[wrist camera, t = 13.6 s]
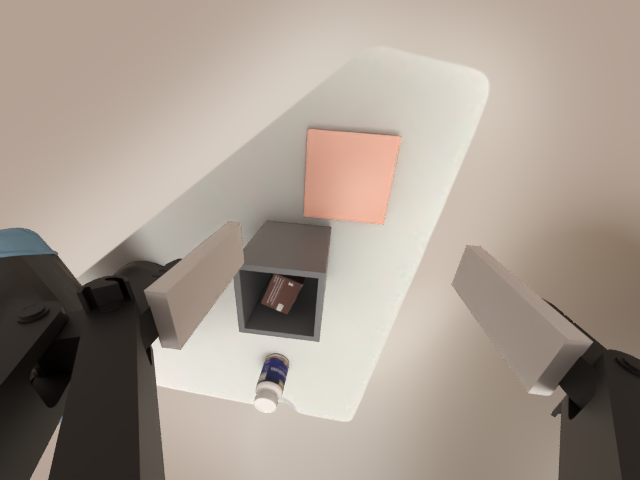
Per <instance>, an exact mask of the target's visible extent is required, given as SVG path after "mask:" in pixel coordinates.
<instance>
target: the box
mask: <svg viewBox="0 0 640 480" xmlns="http://www.w3.org/2000/svg"><path fill="white" fill-rule="evenodd" d="M304 280H305V277H302V276H293V275H284V274H275V273H274V275H273V277H272V279H271V280H270V283H269V285H268V288H267V290H266V292H265V294H264V297H263V299H262V302H261V303H262V304H264V305H266V306H269V307H271V308H273V309H276V310H278V311H280V312H282V313H285V314H288V312H289V310H290V308H291V306H292V305H293V303H294V302H295V300H296V298H297V295H298V293H299V291H300V290H301V288H302V286H303V283H304Z"/></svg>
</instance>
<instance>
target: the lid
mask: <svg viewBox="0 0 640 480" xmlns="http://www.w3.org/2000/svg"><path fill="white" fill-rule="evenodd" d="M401 138H402V137H401V136H390V135H378V134H366V133H354V132H341V131H329V130H317V129H308V131H307V153H306V176H305V198H304V217H313V218H323V219H333V220H343V221H353V222H363V223H373V224H383V225H384V220H385V215H386V211H387V206H388V201H389V196H390V191H391V186H392V181H393V176H394V172H395V167H396V162H397V157H398V152H399V147H400V142H401Z"/></svg>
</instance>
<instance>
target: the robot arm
mask: <svg viewBox="0 0 640 480" xmlns="http://www.w3.org/2000/svg"><path fill="white" fill-rule="evenodd" d="M243 264H244V253H243V240H242V228H241V223H238V222H227V223H226V224H225V225H224V226H223V227H221V228H220V229H219V230H218V231H216V232H215V233H214V234H213V235H211V236H210V237H209V238H208V239H207V240H205V241H204V242H203V243H202V244H200V245H199V246H198V247H197V248H196V249H194V250H193V251H192V252H191V253H189V254H188V255H187V256H186V257H185V258H183V259H177V260H174V261H172V262H170V263H168V264H166V265H165V266H164V267H162V266H160V265H157V264H154V263H151V262H144V261H138V262H132V263H130V264H127V265H126V266H124V267H123V268H121V269H119V270H118V271H117V272H116V273H114V275H112V276H105V277H102V278H98V279H95V280H93V281H91V282H89V283H86V284H85V285H83V286H82V285H81V284H80V283H79V282H78V280H77V279H76V278H75V277H74V275H73V274H72V273H71V272H70V271H69V269H68V268H67V267H66V265H65V264H64V263H63V262H62V260H61V259H60V258H59V257H58V253H57V252H56V251H53V250H52V249H51V248H50V247H49V246H48V245H47V244H46V243H45V241H43V239H42V238H41V237H40V236H39V235H38V234H37V233H35V232H34V231H31V230H29V229H24V228H9V229H3V230H0V480H30V478H31V476H32V474H33V472H34V470H35V468H36V466H37V464H38V462H39V460H40V458H41V457H42V454H43V453H44V451H45V449H46V447H47V445H48V443H49V441H50V439H51V437H52V435H53V433H54V431H55V429H56V427H57V425H58V424H59V423H61V426H60V430H59V434H58V439H57V443H56V448H55V452H54V457H53V461H52V466H51V470H50V474H49V479H48V480H165V474H164V463H163V452H162V441H161V431H160V420H159V409H158V399H157V388H156V377H155V367H154V356H153V349H152V346H151V344H152V343H153V342H154V341H155V340H156V339H157V337H159V340H160V343H161V346H162V347H164V348H172V349H180V350H181V348H182V347H183V346H184V344H185V343H186V342H187V340H188V339H189V338H190V336H191V335H192V333H193V332H194V331H195V329H196V328H197V327H198V325H199V324H200V322H201V321H202V320H203V318H204V317H205V316H206V314H207V313H208V312H209V310H210V309H211V307H212V306H213V305H214V303H215V302H216V301H217V299H218V298H219V296H220V295H221V294H222V292H223V291H224V290H225V288H226V287H227V286H228V284H229V283H230V281H231V280H232V279H233V277H234V276H235V275H236V273H237V272H238V270H239V269H240V268H241V266H242V265H243ZM452 286H453V287H454V289H455V290H456V292H457V293H458V294H459V296H460V297H461V299H462V300H463V301H464V303H465V304H466V306H467V307H468V309H469V310H470V311H471V313H472V314H473V316H474V317H475V318H476V320H477V321H478V323H479V324H480V326H481V327H482V328H483V330H484V331H485V333H486V334H487V336H488V337H489V338H490V340H491V341H492V343H493V344H494V346H495V347H496V348H497V350H498V351H499V353H500V354H501V356H502V357H503V358H504V360H505V361H506V363H507V364H508V365H509V367H510V368H511V370H512V371H513V372H514V374H515V375H516V377H517V378H518V380H519V381H520V382H521V384H522V385H523V387H524V388H525V389H526V391H527V392H528V393H531V394H540V395H548V396H550V395H551V394H552V393H553V391H554V390H555V389H556V388H557V386H558V385H560V386H561V388H562V389H563V390H564V391H565V392H566V394H567V395H566V396H565V397H564V399H563V400H562V401H561V402H560V403H559V405H558V406H557V407H556V408H555V409H554V410H553V412H552V414H551V415H552V416H554V417H556V415H557V414H561V431H560V457H559V479H558V480H640V360H639V359H637V358H635V357H633V356H631V355H629V354H626V353H623V352H620V351H616V350H611V349H610V350H607V349H606V348H604V347H603V346H602V345H601V344H600V343H598V342H597V341H596V340H595V339H593V338H592V337H591V336H590V335H589V334H588V333H586V332H585V331H584V330H583V329H582V328H580V327H579V326H578V325H577V324H576V323H573V321H572V320H571V319H569V318H568V317H567V316H566V315H564V314H563V313H562V312H561V311H560V310H559V309H557V308H556V307H555V306H554V305H553V304H551V303H549V302H548V301H546V300H544V299H543V298H541V297H540V296H538V295H537V294H536V293H535V292H534V291H532V290H531V289H530V288H529V287H528V286H527V285H525V284H524V283H523V282H522V281H521V280H520V279H518V278H517V277H516V276H515V275H513V274H512V273H511V272H510V271H509V270H508V269H507V268H505V267H504V266H503V265H502V264H501V263H499V262H498V261H497V260H496V259H495V258H494V257H492V256H491V255H490V254H489V253H488V252H487V251H485V250H484V249H483V248H482V247H481V246H471V245H467V246H466V248H465V251H464V254H463V256H462V259H461V261H460V264H459V267H458V269H457V272H456V274H455V277H454V280H453V283H452Z"/></svg>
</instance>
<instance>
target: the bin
mask: <svg viewBox="0 0 640 480" xmlns="http://www.w3.org/2000/svg"><path fill="white" fill-rule="evenodd" d="M330 235H331V227H323V226H313V225H302V224H292V223H282V222H272V221H266V222H265V224H264V225H263V226H262V227H261V228H260V230H259V231H258V232H257V233H256V234H255V236H254V237H253V238H252V239H251V241H250V242H249V243H248V244H247V245H246V247H245V248H244V249H243V253H244V264H243V265H242V266H241V268H240V269H239V270H238V272H237V273H236V275H235V276H234V277H233V278H234V288H235V297H236V306H237V315H238V325H239V332H244V333H252V334H260V335H268V336H276V337H284V338H292V339H301V340H309V341H317V342H319V339H320V330H321V321H322V312H323V303H324V294H325V285H326V276H327V265H328V255H329V245H330ZM274 273H275V274H284V275H293V276H302V277H305V280H304V283H303V286H302V288H301V290H300V291H299V293H298V295H297V298H296V300H295V302H294V303H293V305H292V306H291V308H290V310H289V312H288V314H285V313H282V312H280V311H278V310H276V309H273V308H271V307H269V306H266V305H264V304H262V303H261V302H262V299H263V297H264V294H265V292H266V290H267V288H268V285H269V283H270V280H271V279H272V277H273V275H274Z"/></svg>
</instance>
